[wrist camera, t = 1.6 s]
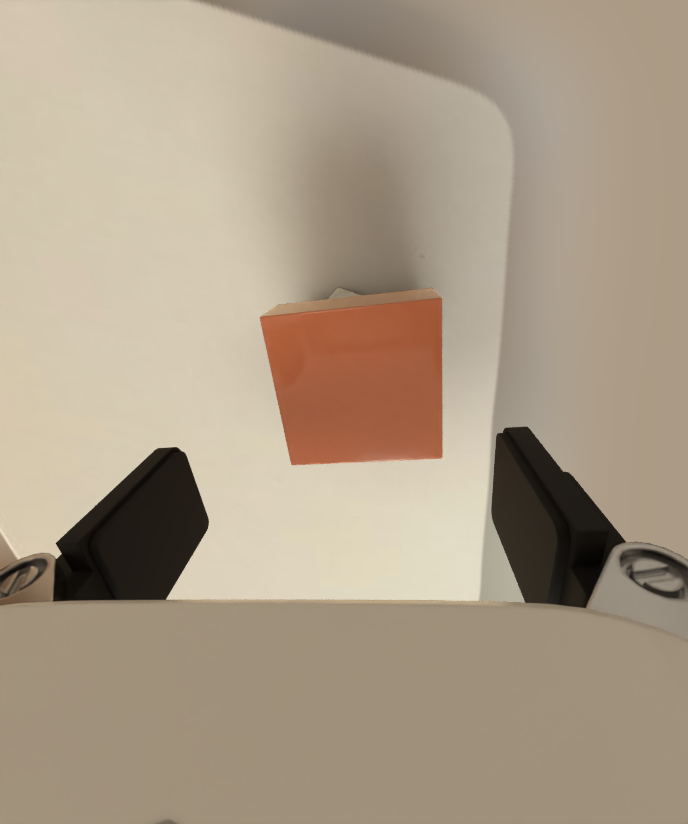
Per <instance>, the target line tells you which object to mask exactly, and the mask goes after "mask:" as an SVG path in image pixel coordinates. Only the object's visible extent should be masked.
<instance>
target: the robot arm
mask: <svg viewBox="0 0 688 824" xmlns="http://www.w3.org/2000/svg"><path fill="white" fill-rule="evenodd" d="M492 519H493V523H494V525H495V528H496V530H497V533H498V535H499V538H500V540H501V543H502V545H503V548H504V550H505V553H506V555H507V558H508V560H509V563H510V565H511V568H512V570H513V573H514V575H515V578H516V580H517V583H518V585H519V588H520V590H521V593H522V595H523V598H524V600H525V603H519V602H496V601H443V600H166V598H167V596H168V595H169V593H170V591H171V590H172V588H173V586H174V585H175V583H176V581H177V580H178V578H179V576H180V575H181V573H182V571H183V570H184V568H185V566H186V565H187V563H188V561H189V560H190V558H191V556H192V555H193V553H194V551H195V550H196V548H197V546H198V544H199V543H200V541H201V539H202V538H203V536H204V534H205V533H206V531H207V529H208V524H209V520H208V516H207V513H206V510H205V508H204V505H203V502H202V499H201V496H200V493H199V490H198V487H197V485H196V482H195V479H194V476H193V473H192V470H191V467H190V465H189V462H188V459H187V456H186V454H185V453H184V452H182V451H181V450H180V449H179V448H177V447H172V448H158V449H156V450H155V451H154V452H153V453H152V454H151V455H149V456H148V457H147V458H146V459H145V460H144V461H143V462H142V463H141V464H140V465H139V466H138V467H137V468H136V469H135V470H133V471H132V472H131V473H130V474H129V475H128V476H127V477H126V478H125V479H124V480H123V481H122V482H121V483H120V484H118V485H117V486H116V487H115V488H114V489H113V490H112V491H111V492H110V493H109V494H108V495H107V496H106V497H105V498H104V499H102V500H101V501H100V502H99V503H98V504H97V505H96V506H95V507H94V508H93V509H92V510H91V511H90V512H89V513H88V514H86V515H85V516H84V517H83V518H82V519H81V520H80V521H79V522H78V523H77V524H76V525H75V526H74V527H73V528H71V529H70V530H69V531H68V532H67V533H66V534H65V535H64V536H63V537H62V538H61V539H60V540H59V541H58V542H57V543H56V545H57V546H58V548H59V550H60V551H61V553H62V554H61V555H60V556H59V557H58V558H57V559H55V557H54V556H53V555H51V554H50V553H39V554H33V555H30V556H27V557H24V558H21V559H19V560H17V561H15V562H13V563H11V564H9V565H8V566H6V567H5V568H3V569H1V570H0V824H688V560H687V559H686V558H684V557H683V556H681V555H680V554H677V553H675V552H673V551H670V550H669V549H666V548H664V547H660V546H657V545H653V544H650V543H642V542H626V541H625V540H624V539H623V538H622V536H621V535H620V534H619V533H618V531H617V530H616V529H615V528H614V527H613V525H612V524H611V523H610V522H609V520H608V519H607V518H606V517H605V515H604V514H603V513H602V512H601V510H600V509H599V508H598V507H597V506H596V504H595V503H594V502H593V501H592V499H591V498H590V497H589V496H588V495H587V493H586V492H585V491H584V490H583V488H582V487H581V486H580V485H579V483H578V482H577V481H576V480H575V478H574V477H573V476H572V475H571V474H570V473H568V472H563V471H562V470H561V468H560V467H559V466H558V465H557V463H556V462H555V461H554V460H553V458H552V457H551V456H550V454H549V453H548V452H547V451H546V450H545V448H544V447H543V445H542V444H541V443H540V442H539V440H538V439H537V438H536V437H535V435H534V434H533V433H532V431H531V430H530V429H529V428H528V427H512V428H505V429H504V431H503V433H498V434H497V437H496V450H495V464H494V479H493V494H492Z"/></svg>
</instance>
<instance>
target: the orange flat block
mask: <svg viewBox="0 0 688 824" xmlns="http://www.w3.org/2000/svg"><path fill="white" fill-rule="evenodd" d="M260 321H261V326H262V330H263V335H264V340H265V344H266V349H267V354H268V358H269V363H270V368H271V372H272V377H273V382H274V386H275V391H276V396H277V400H278V405H279V409H280V414H281V419H282V423H283V428H284V433H285V437H286V442H287V447H288V451H289V456H290V461H291V465H307V464H330V463H352V462H374V461H397V460H419V459H441V458H442V298H441V297H440V296H439V295H438V294H437V292H436V291H435V290H434V289H433V288H425V289H416V290H407V291H398V292H388V293H379V294H370V295H361V296H352V297H342V298H333V299H324V300H315V301H306V302H296V303H287V304H279V305H277V306H276V307H274V308H273V309H271V310H270V311H268V312H267V313H265V314H264V315H262V316H261V317H260Z"/></svg>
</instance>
